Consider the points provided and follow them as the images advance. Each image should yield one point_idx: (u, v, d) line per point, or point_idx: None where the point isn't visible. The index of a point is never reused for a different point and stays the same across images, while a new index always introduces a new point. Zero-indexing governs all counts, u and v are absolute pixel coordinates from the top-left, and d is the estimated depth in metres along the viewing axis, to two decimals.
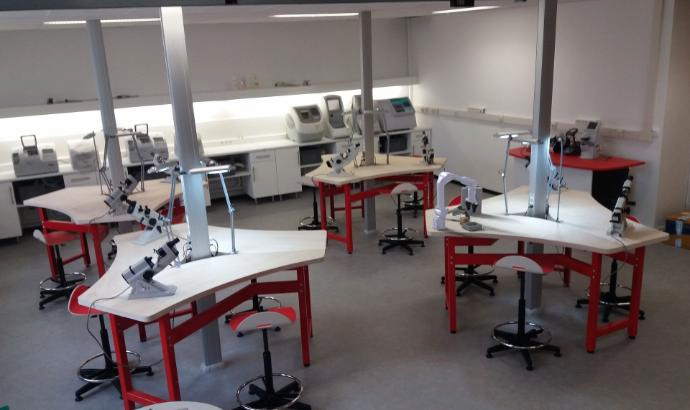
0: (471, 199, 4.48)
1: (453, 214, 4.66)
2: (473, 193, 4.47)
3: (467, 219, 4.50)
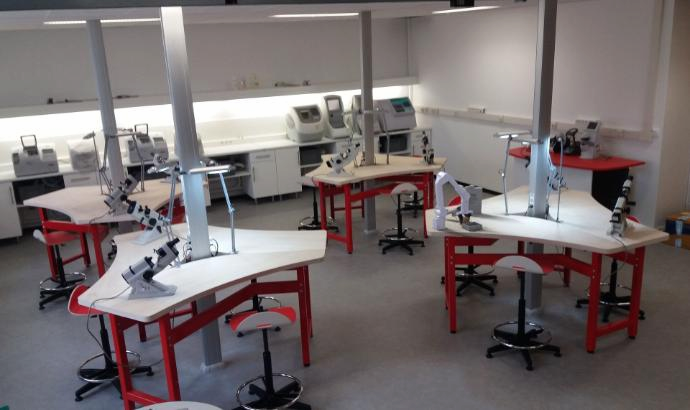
0: (461, 210, 4.50)
1: (453, 215, 4.66)
2: (466, 205, 4.46)
3: (467, 219, 4.50)
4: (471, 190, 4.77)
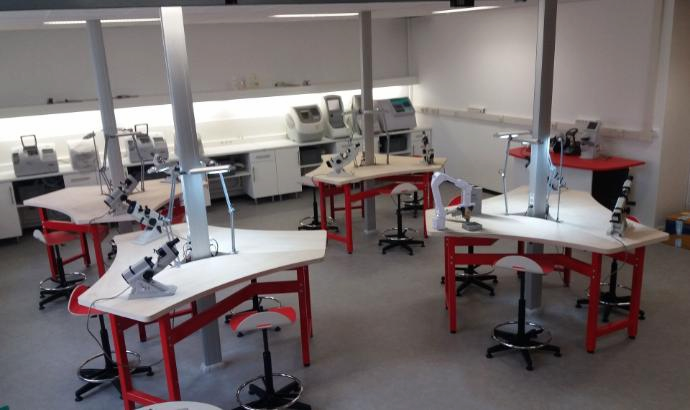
0: (463, 202, 4.46)
1: (452, 215, 4.66)
2: (467, 197, 4.42)
3: (469, 212, 4.46)
4: (471, 190, 4.77)
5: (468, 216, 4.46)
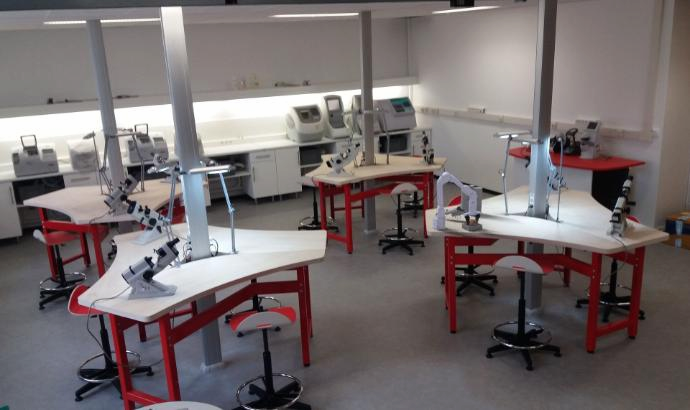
0: None
1: (452, 215, 4.66)
2: (472, 205, 4.36)
3: (475, 221, 4.40)
4: None
5: None
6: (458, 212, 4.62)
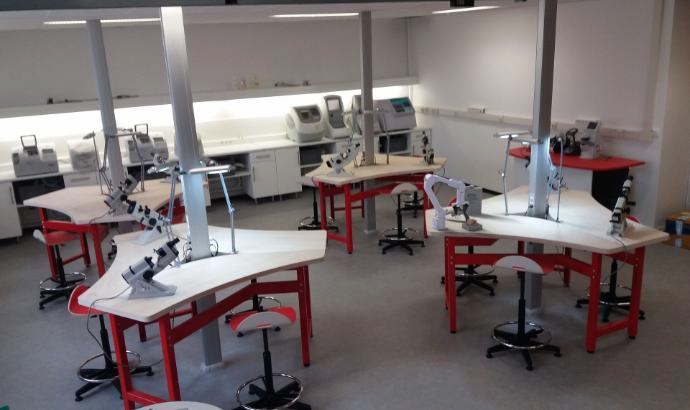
0: None
1: (452, 215, 4.66)
2: (461, 195, 4.39)
3: (475, 221, 4.40)
4: (471, 190, 4.77)
5: None
6: (458, 212, 4.62)
